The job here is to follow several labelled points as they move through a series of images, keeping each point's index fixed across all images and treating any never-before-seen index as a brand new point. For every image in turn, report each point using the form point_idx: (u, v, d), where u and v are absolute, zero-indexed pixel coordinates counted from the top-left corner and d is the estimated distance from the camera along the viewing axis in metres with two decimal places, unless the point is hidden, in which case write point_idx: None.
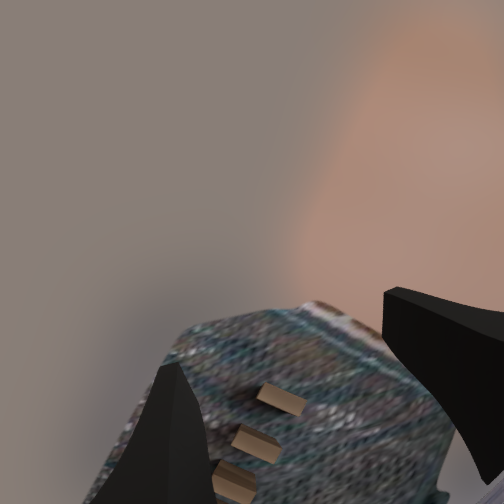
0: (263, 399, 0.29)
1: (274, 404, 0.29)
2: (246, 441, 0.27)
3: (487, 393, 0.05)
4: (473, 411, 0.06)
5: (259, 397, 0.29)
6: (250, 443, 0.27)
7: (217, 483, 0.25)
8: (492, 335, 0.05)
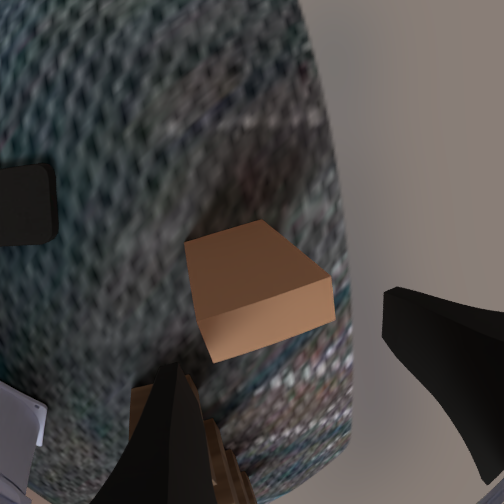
0: None
1: None
2: None
3: (487, 393, 0.05)
4: (473, 411, 0.06)
5: None
6: None
7: None
8: (492, 335, 0.05)
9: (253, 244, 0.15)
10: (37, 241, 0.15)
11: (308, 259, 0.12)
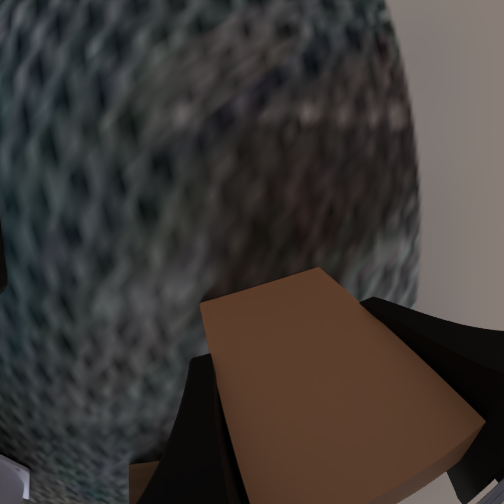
0: None
1: None
2: None
3: None
4: None
5: None
6: None
7: None
8: (467, 355, 0.05)
9: (326, 329, 0.09)
10: None
11: (437, 377, 0.06)
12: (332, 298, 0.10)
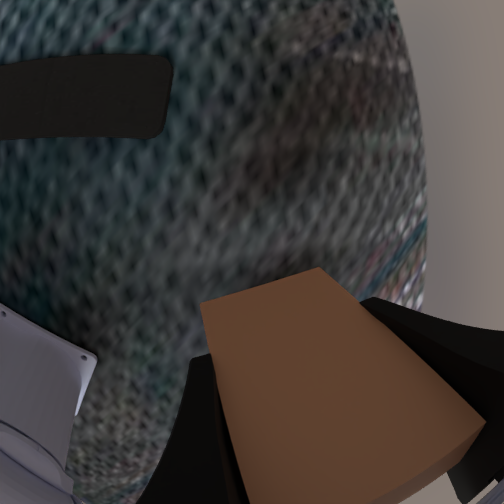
0: None
1: None
2: None
3: None
4: None
5: None
6: None
7: None
8: (467, 355, 0.05)
9: (326, 329, 0.09)
10: (138, 133, 0.14)
11: (438, 378, 0.06)
12: (332, 298, 0.10)
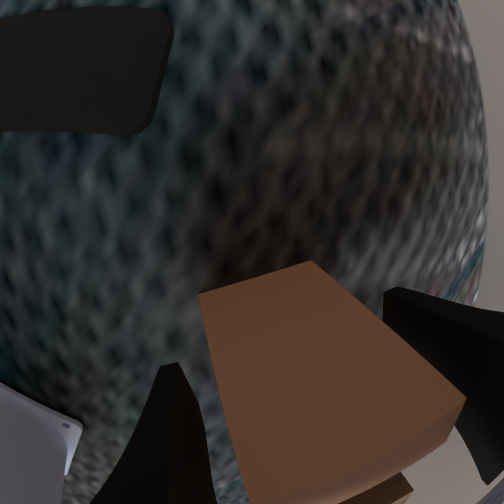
0: None
1: None
2: None
3: (487, 393, 0.05)
4: (473, 411, 0.06)
5: None
6: None
7: None
8: (492, 335, 0.05)
9: (315, 315, 0.09)
10: (111, 126, 0.09)
11: (419, 357, 0.06)
12: (322, 288, 0.11)
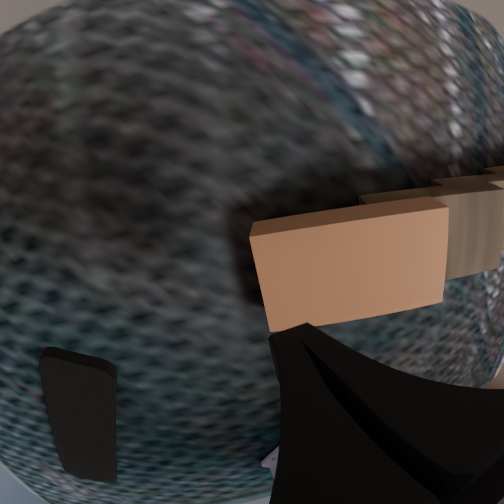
0: None
1: None
2: None
3: None
4: None
5: None
6: None
7: None
8: (381, 409, 0.05)
9: (343, 256, 0.13)
10: (111, 386, 0.15)
11: (414, 213, 0.11)
12: (309, 242, 0.12)
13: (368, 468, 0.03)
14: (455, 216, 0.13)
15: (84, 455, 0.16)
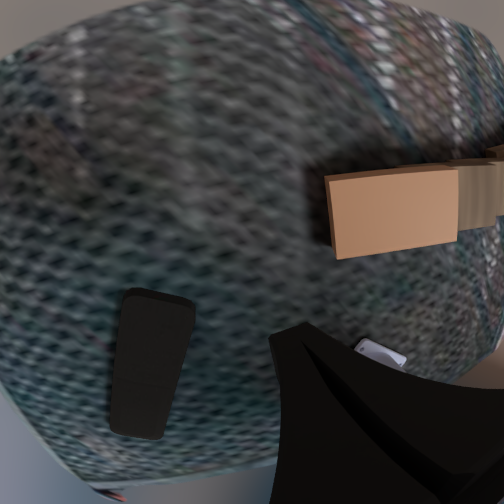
0: None
1: None
2: None
3: None
4: None
5: None
6: None
7: None
8: (381, 409, 0.05)
9: (390, 199, 0.17)
10: (191, 323, 0.19)
11: (436, 172, 0.16)
12: (369, 187, 0.17)
13: (368, 468, 0.03)
14: (462, 182, 0.18)
15: (140, 406, 0.20)
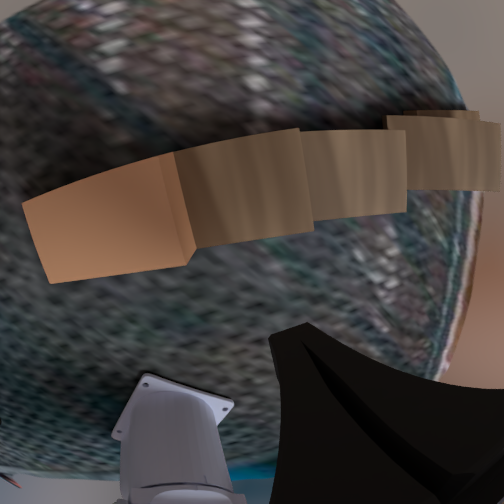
0: None
1: None
2: None
3: None
4: None
5: None
6: None
7: None
8: (382, 409, 0.05)
9: (74, 215, 0.13)
10: None
11: (121, 168, 0.12)
12: (51, 203, 0.13)
13: (368, 468, 0.03)
14: (219, 167, 0.14)
15: None
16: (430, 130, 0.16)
